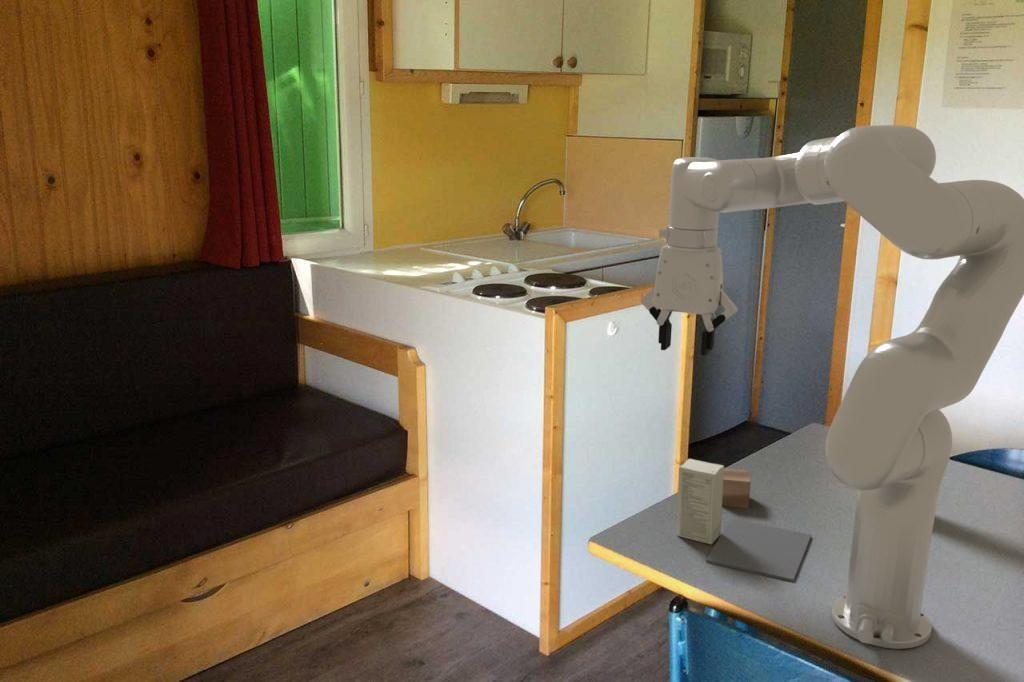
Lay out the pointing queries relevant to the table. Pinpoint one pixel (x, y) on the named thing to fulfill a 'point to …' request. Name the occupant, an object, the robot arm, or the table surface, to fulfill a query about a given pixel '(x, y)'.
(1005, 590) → the table surface
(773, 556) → the mat
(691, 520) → the skincare box
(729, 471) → the walnut block
